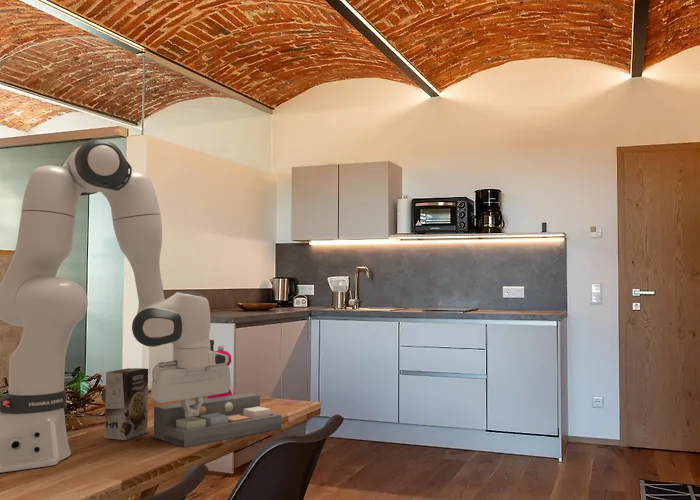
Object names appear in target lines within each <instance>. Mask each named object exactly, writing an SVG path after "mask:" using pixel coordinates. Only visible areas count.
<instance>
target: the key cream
mask: <svg viewBox="0 0 700 500" xmlns="http://www.w3.org/2000/svg"><path fill="white" fill-rule="evenodd" d="M270 412H271V408H269V407H268V408H267V407H264V406H263V407H262V406H260V407H259V406H258V407H252V408H246V409H243V416H246V417H250V419H254V418H260V417H266V416H270Z"/></svg>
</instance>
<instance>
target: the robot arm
mask: <svg viewBox="0 0 700 500" xmlns="http://www.w3.org/2000/svg"><path fill="white" fill-rule="evenodd" d="M97 193H101V194H102V195H103V196H104V197H105V198H106V199H107V202H108V203H109V207H110V210H111V211H110V212H111V219H112V226H113V230H114V233H115V234H114V235H115V237H116V240H117V243H118V246H119V248H120V250H121V252H122V253H123V254H124V256H125V258H126V259H127V261H128V262H129V265H130V266H131V268H132V272H133V275H134V282H135V286H136V294H137V299H138V307H137V308H138V309H137V313H136V315H135V316H134V318H133V320H132V322H131V323H132V324H131V330H132V331H131V332H132V335H133V337H134V338H135V340H136V341H137V342H139V344H141V345H143V346H146V347H149V348H150V347H152V348H157V347H160V346H163V345H166V344H170V343H171V344H172V360H169V361H165V362H164V361H161V362H157V364H156V365H154V367H153V368H152V375H151V377H152V381H151V382H152V383H151V390H150V391H151V392H150V399H151V400H152V401H153V402H154V403H156V404H165V403H171V402H178V401H179V403H181V405H182V406H183V408H184V410H185V417H187V418H190V417H195V416H199V409H200V407H201V405H202V403H203V397H204V396H210V395H216V394H222V393H227V392H228V391H229V389H230V390H231V386H232V385H231V369H229V368H230V367H229V366H227V365H226V364H227V363H228V360H229V358H228V356H227V355H225V354H221V353H217V352H215V351H216V350H215V351H211V345H210V341H209V339H210V331H211V310H210V309H211V308H210V304H209V303H210V302H209V300H208V298H207V297H206V296H205V295H203V294H202V293H197V292H195V291H187V290H186V291H185V290H179V291H176V292H175V293H174V294H173V295H171V296H170V297H168V298H166V297H165V293H164V287H163V281H162V275H161V269H160V267H161V265H160V261H161V260H160V259H161V252H162V251H161V250H162V245H163V244H162V243H163V225H162V215H161V210H160V206H159V205H160V204H159V201H158V196H157V193H156V190H155V188H154V184H153V181H152V180H151V178H150V177H149V176H148V175H147V174H146V173H144V172H141V171H138V170H133V167H132V165H131V164H130V163H129V161H128V160H127V159H126V158H125V156H124V153H123V152H122V151H121V149H120V148H119V147H118V146H117V145H116V144H115V143H113V142H111V141H109V140H106V139H92V140H89V141H86V142H84V143H83V144H82V145H80V146H78V147H77V148H75V149H74V150H73V151H71V153H70V155H68V156H67V158H65V160H64V161H63V162H62V164H61V165H60V166H58V165H49V164H48V165H43V166H39V167H37V168H35V169H34V170H32V172H31V174H30V176H29V178H28V181H27V184H26V188H25V191H24V195H23V199H22V203H21V204H22V206H21V210H20V211H21V212H20V218H19V220H20V221H19V227H18V232H17V233H18V234H17V241H16V247H15V250H14V253H13V255H12V258H11V261H10V263H9V266H8V268H7V270H6V273H5V275H4V277H3V279H2V280H1V281H0V321H2V322H4V323H6V324H8V325H11V326H15V327H21V328H22V327H23V329H22V333H21V338H20V341H19V342H18V346H17V347H16V348H15V350H13V352H11V354H10V356H9V358H8V359H9V360H8V392H7V393H6V394H5V395H3V396H0V473H6V472H14V471H23V470H27V469H36V468H42V467H43V468H44V467H49V466H50V467H51V466H55V465H58V464H59V463H60V461H62V460H64V459H66V458H68V457H70V456H72V455H71V454H72V452H71V451H72V450H71V448H70V445H69V439H68V435H67V427H66V417H65V415H66V413H67V402H68V401H67V390H66V389H65V372H66V371H65V369H66V366H65V365H66V356H67V349H68V346H69V343H70V339H71V336H72V333H73V331H74V329H75V327H76V326H77V325H78V323H80V321H81V320H83V318H84V317H85V315H86V313H87V310H88V305H89V303H88V302H89V301H88V300H89V299H88V295H87V292H86V290H85V289H84V288H83V286H81V285H80V284H79V283H77V282H75V281H72V280H70V279H66V278H64V277H58V276H57V273H58V271H59V269H60V267H61V265H62V264H63V262H64V261H65V260H66V259H67V258H68V257H69V256H70V254H71V252H72V249H73V248H72V247H73V238H74V233H75V231H74V230H75V222H76V211H77V210H76V209H77V204H78V201H79V198H80V197H81V196H89V195H94V194H97ZM56 276H57V277H56ZM191 399H193V401H195V404H194V406H193V408H191V409H190V407H189V405H188V403H190V401H191Z"/></svg>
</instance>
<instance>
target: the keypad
mask: <svg viewBox="0 0 700 500" xmlns="http://www.w3.org/2000/svg"><path fill="white" fill-rule="evenodd" d="M194 404H195V401H194V400H190V403H188V405H189V407H190V409H191V408H193V406H194ZM258 406H259V407H261V394H257V393H251V392H247V393H246V392H245V393H239V394H232V395H230V396H223V397H216V398H209V399H203V403H202V405H201V407H200V409H199V416H195V417H197V418H200V416H203V415H209V414H215V413H218V414H222V415H226V416H234V415H241V416H243V409H246V408H252V407H258ZM184 418H187V417H185V410H184V408H183V406H182V405H181V403H180V402H177V403H176V402H175V403H169V404H168V403H167V404H161V405H155V406H153V438H154V437H155V438H154V439H157V438H158V440H160V439H161V441H163V440H164V442H166V441H167V443H169V442H170V443H169V444H172V443H173V445H175V444H176V446H178V445H179V447H180V448H181V447H182V448H189V447H193V446H198V445H199V446H200V445H204V444H209V443H215V442H219V441H223V440H229V439H236V438H239V437H245V436H250V435H256V434H260V433H265V432H270V431H276V430H281V429H282V414H278V413H275V412H271V411H270V416H266V417H260V418H254V419H249V420H243V421H237V422H231V423H226V424H220V425H214V426H209V427H208V426H206V427H203V428H197V429H192V430H183V429H180V428H176V420H178V419H184Z"/></svg>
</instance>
